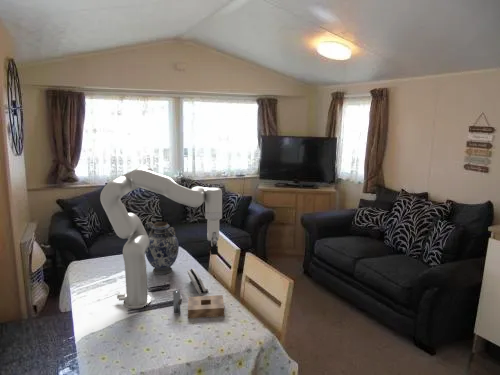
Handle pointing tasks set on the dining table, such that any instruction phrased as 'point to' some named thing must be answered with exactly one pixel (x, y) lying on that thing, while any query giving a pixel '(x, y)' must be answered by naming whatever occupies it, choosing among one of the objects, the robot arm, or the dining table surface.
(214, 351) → the dining table surface
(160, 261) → the decorative vase
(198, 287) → the grey half-round piece
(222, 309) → the block with square hole
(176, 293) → the pin
